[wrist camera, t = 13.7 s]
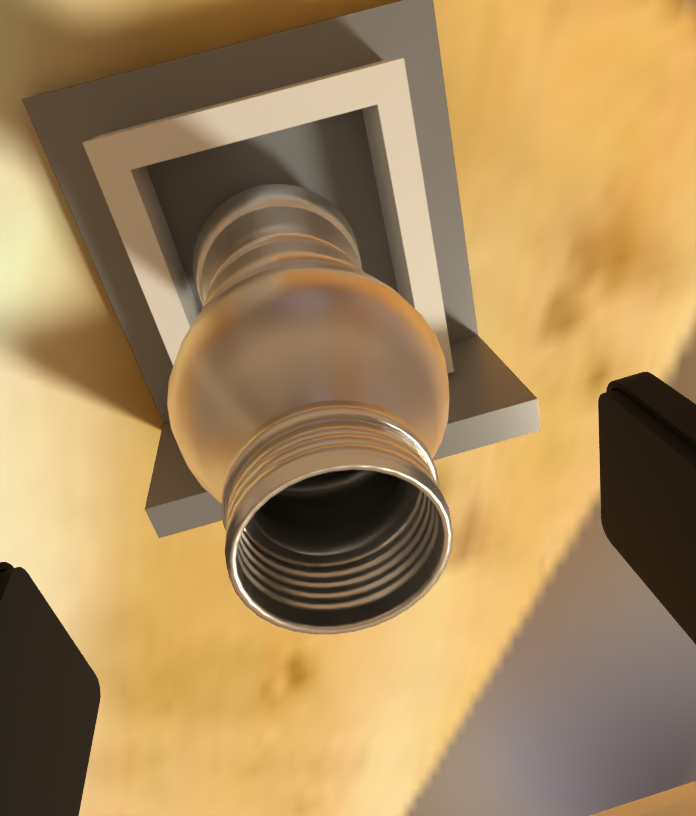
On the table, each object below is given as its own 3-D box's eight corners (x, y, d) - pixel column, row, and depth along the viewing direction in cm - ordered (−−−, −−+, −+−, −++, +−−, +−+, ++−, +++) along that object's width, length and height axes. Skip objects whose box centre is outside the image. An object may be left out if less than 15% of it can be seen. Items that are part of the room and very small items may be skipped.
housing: (29, 98, 24) (-54, 107, 17) (425, -5, 25) (499, -37, 18) (176, 437, 32) (159, 538, 25) (475, 354, 33) (540, 430, 26)
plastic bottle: (180, 186, 26) (58, 417, 8) (342, 163, 26) (551, 334, 9) (213, 332, 29) (177, 727, 11) (358, 309, 29) (536, 650, 12)
